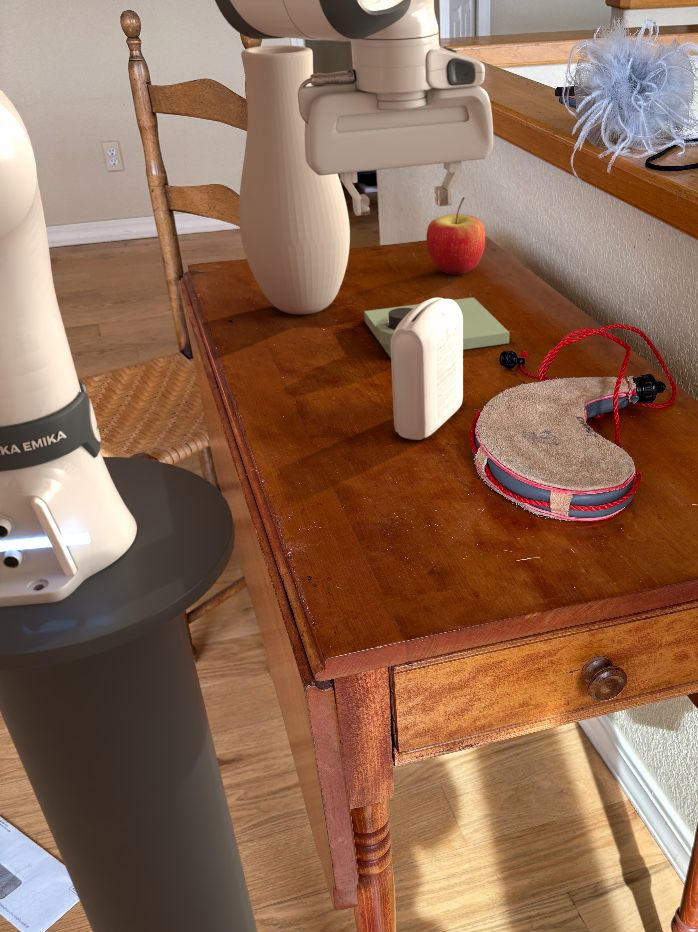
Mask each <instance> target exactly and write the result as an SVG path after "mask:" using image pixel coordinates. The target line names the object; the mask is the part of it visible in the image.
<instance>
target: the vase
mask: <svg viewBox="0 0 698 932" xmlns="http://www.w3.org/2000/svg"><path fill="white" fill-rule="evenodd" d="M313 53H314V52H313V50H312V49H311V48H310V47H307V46H303V45H293V44H291V45H289V44H288V45H287V44H282V45H281V44H279V45H277V44H276V45H275V44H274V45H261V46H260V45H259V46H254V47H248V48H245V49H243V50H242V51H241V53H240V56H241V60H242V67H243V72H244V78H245V86H246V96H247V124H246V125H247V127H246V137H245V140H246V141H245V149H244V157H243V163H242V170H241V177H240V188H239V201H238V222H239V232H240V239H241V243H242V248H243V252H244V255H245V258H246V261H247V263H248V267H249V269H250V271H251V273H252V275H253V278H254V279H255V281H256V284H257V286H259V289H260V290H261V292H262V293H263V295H264V297H265V298H266V299H267V300H268V301H269V303H270V304H271V305H272V306H274V307H275V308H277V309H278V310H279V311H281V312H284V313H286V314H291V315H298V316H299V315H300V316H301V315H311V314H315V313H318V312H322V311H323V310H324V309H326V308H328V307H329V306H330V305H331V304H332V303H333V302H334V300H335V299H336V297H337V295H338V293H339V291H340V288H341V286H342V283H343V280H344V277H345V274H346V270H347V267H348V262H349V255H350V244H351V228H350V219H349V211H348V206H347V201H346V197H345V194H344V190H343V187H342V183H341V179H340V177H339V174H331V175H318V174H316V173H315V172H314V171H313V170H312V169H311V168H310V167H309V166H308V164H307V162H306V157H305V121H304V120H303V119H302V117H301V115H300V112H299V104H298V90H299V87H300V85H301V84H302V83H303V82H304V81H305V80H307V79H309V78H310V75H312V74H314V55H313ZM306 86H313V85H311V83H309V84H307V85H306Z"/></svg>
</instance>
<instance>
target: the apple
mask: <svg viewBox="0 0 698 932" xmlns="http://www.w3.org/2000/svg"><path fill="white" fill-rule="evenodd" d="M465 199H466V198H465V197H464V196H463V197H462V199H461V201H460V203H459V206H458V208H457V212H456V213H453V214H452V213H451V214H446V215H442V216H439V217H437V218H434V219H433V220H431V221H430V222H429V224H428V226H427V229H426V247H427V251H428V254H429V256H430V259H431V260H432V262H433V264H434V265H435V267H436V268H437V269H438V270H439V271H441V272H443V273H444V274H447V275H454V276H455V275H457V276H459V275H464V274H466V273H469V272H471V271H472V270H474V269H475V268H476V267H477V265H478V264H479V263H480V261H481V259H482V257H483V253H484V251H485V247H486V233H485V232H486V231H485V226H484V224H483V222H482V221H481V220H480V219H479V218H477V217H476V216H474V215H469V214H463V213H461V214H460V213H459V212H460V210H461V207H462V204H463V202H464V201H465Z"/></svg>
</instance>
